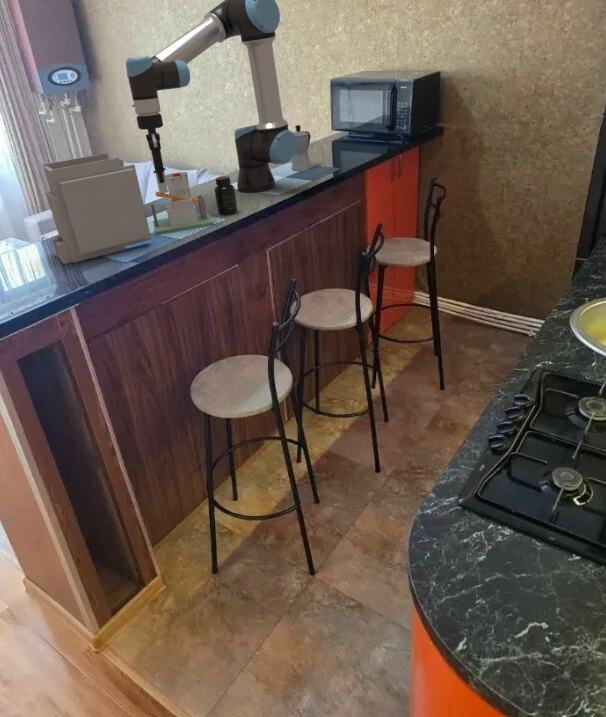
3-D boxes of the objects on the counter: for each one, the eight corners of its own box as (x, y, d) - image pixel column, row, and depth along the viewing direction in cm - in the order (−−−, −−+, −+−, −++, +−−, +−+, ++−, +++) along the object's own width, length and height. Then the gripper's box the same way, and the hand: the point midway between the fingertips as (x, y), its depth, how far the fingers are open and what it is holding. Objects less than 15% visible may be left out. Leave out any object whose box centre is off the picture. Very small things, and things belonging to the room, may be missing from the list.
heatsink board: (207, 214, 200) (203, 190, 196) (214, 224, 188) (209, 199, 184) (153, 223, 196) (147, 199, 192) (155, 234, 184) (150, 208, 180)
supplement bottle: (216, 212, 202) (210, 177, 196) (234, 208, 204) (229, 174, 198) (221, 216, 196) (215, 181, 190) (240, 213, 198) (235, 177, 192)
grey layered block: (54, 252, 178) (26, 166, 165) (137, 232, 189) (117, 149, 176) (66, 267, 165) (37, 174, 152) (154, 244, 176) (134, 156, 163)
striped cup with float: (188, 211, 206) (181, 177, 200) (166, 212, 208) (159, 178, 202) (198, 203, 215) (192, 170, 209) (177, 204, 216) (170, 172, 210)
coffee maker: (302, 172, 245) (298, 128, 236) (285, 172, 250) (281, 128, 241) (320, 165, 256) (317, 121, 247) (303, 164, 260) (299, 122, 251)
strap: (201, 201, 192) (202, 197, 192) (203, 203, 189) (203, 199, 189) (155, 193, 187) (156, 189, 186) (156, 196, 184) (156, 191, 183)
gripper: (135, 113, 179) (150, 190, 191) (136, 117, 168) (153, 198, 180) (159, 110, 181) (173, 186, 192) (162, 114, 170) (177, 195, 181)
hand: (163, 192), depth 186 cm, fingers closed
